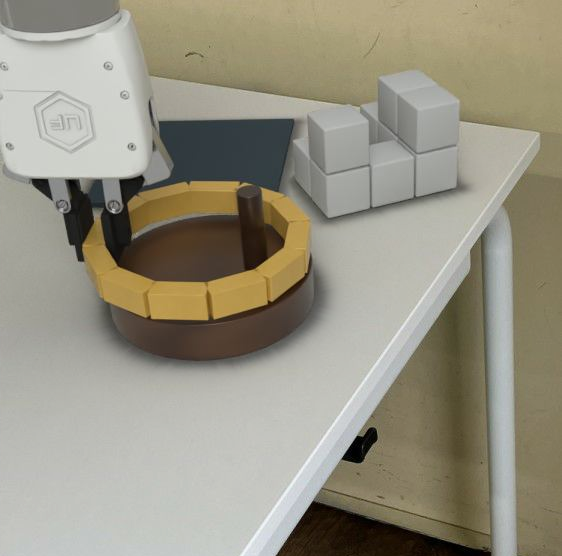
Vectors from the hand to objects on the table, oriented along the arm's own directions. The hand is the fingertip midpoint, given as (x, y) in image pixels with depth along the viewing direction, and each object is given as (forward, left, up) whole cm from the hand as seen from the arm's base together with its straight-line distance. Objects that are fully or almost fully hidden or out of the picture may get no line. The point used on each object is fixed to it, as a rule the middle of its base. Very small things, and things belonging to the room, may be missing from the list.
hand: (103, 251), depth 74 cm
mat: (+2, +23, -4) cm, 23 cm away
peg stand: (+8, 0, -4) cm, 9 cm away
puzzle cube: (+18, +20, -4) cm, 27 cm away
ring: (+7, 0, -1) cm, 7 cm away
